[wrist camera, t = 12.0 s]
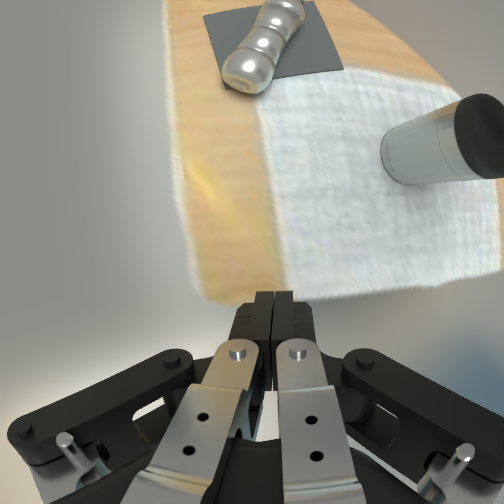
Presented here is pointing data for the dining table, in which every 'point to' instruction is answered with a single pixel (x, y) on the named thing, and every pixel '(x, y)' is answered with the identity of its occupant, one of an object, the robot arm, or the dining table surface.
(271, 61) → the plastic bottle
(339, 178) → the dining table surface
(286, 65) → the rubber mat
